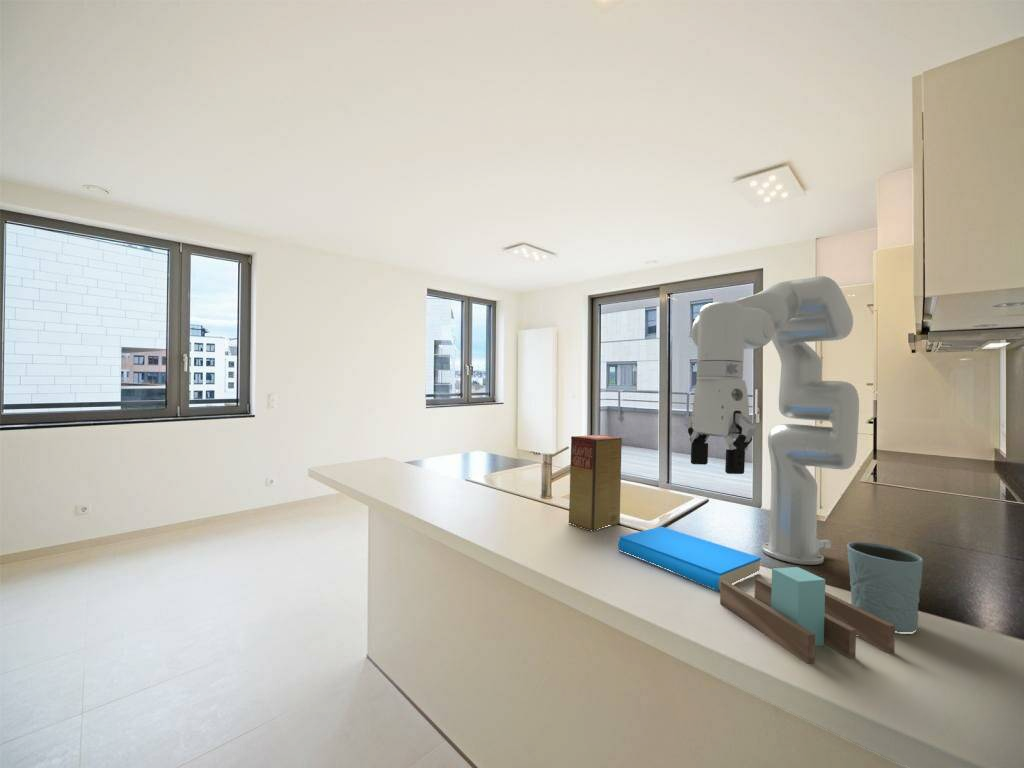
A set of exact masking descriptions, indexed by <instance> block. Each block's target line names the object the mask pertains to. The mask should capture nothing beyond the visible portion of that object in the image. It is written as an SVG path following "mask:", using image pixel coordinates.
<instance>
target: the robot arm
mask: <svg viewBox="0 0 1024 768" xmlns="http://www.w3.org/2000/svg"><path fill="white" fill-rule="evenodd" d="M853 316H854V315H853V313H852V310H851V308H850V305H849V303H848V301H847V299H846V297H845V294H844V293H843V291H842V289H841V287H840V286H839V285H838V283H836V281H835V280H833V279H832V278H830V277H827V276H823V275H821V276H815V277H809V278H800V279H793V280H784V281H781V282H777V283H775V284H772V285H769V287H767V288H764V289H763V290H761V291H760V292H758V293H755V294H751V295H747V296H745V297H741V298H739V299H735V300H732V301H718V302H717V301H716V302H711V303H710V302H709V303H706V304H705V305H703V306H702V307H701V308H700V310H699V313H698V315H697V317H696V318H695V320H694V321H693V323H692V326H691V338H692V341H693V343H694V345H696V346H697V357H696V358H697V359H696V361H697V363H696V381H695V382H696V383H695V387H694V393H693V402H692V413H691V414H690V415H689V416H688V417H687V418H686V420H685V422H686V425H687V432H688V435H689V441H690V444H691V445H690V446H691V447H690V464H692V465H704V466H705V465H708V460H709V443H707V441H708V439H709V437H710V436H713V437H717V438H724V440H725V443H726V445H727V446H728V449H725V466H724V468H725V470H724V471H725V473H726V474H729V475H743V474H744V473H745V467H746V466H745V462H746V459H745V458H746V457H745V456H746V451H748V449H749V445H750V444H751V443H752V441H753V436H754V434H755V432H756V430H757V425H756V424H755V423H754V422H753V421H751V420H750V406H749V405H750V404H749V393H748V388H747V387H748V386H747V384H746V380H744V353H745V352H744V350H750V349H751V350H752V349H759V348H763V347H765V346H767V345H768V344H769V343H770V342H771V341H772V344H773V345H774V347H775V349H776V352H777V354H778V356H779V358H780V359H779V360H780V366H781V367H780V379H779V380H780V381H779V391H778V392H779V393H778V410H779V413H780V414H781V415H782V416H783V417H786V418H789V419H794V420H805V421H806V420H807V421H816V422H817V421H819V422H829V423H831V424H832V425H831V426H821V425H811V424H796V423H795V424H794V423H785V424H783V423H782V424H779V425H776V426H774V427H772V429H771V430H770V431H769V432H768V435H767V436H768V437H767V447H768V453H769V460H770V475H771V476H770V477H771V479H770V505H769V506H770V510H769V511H770V514H769V541H767V542H765V543H762V545H761V550H762V552H763V553H764V554H766V555H768V557H769V556H770V557H772V558H774V559H777V560H779V561H784V562H787V563H792V564H798V565H804V566H817V565H821V564H823V563H824V560H825V559H824V555H823V554H822V553H820V550H821V549H830V548H832V543H831V541H830V540H828V539H819V538H817V525H818V524H817V523H818V521H817V517H818V491H819V489H818V484H817V482H816V479H815V477H814V476H813V474H812V473H811V472H810V470H809V469H808V467H815V468H824V469H832V470H839V471H840V470H841V471H843V470H849V469H850V468H852V467H853V465H854V464H855V462H856V458H857V450H858V435H859V418H860V416H859V415H860V398H859V393H858V390H857V388H856V387H855V385H853V384H852V383H850V382H848V381H842V380H822V375H823V374H822V373H823V361H822V359H821V357H820V356H819V354H818V353H817V352H816V351H815V350H814V349H813V348H812V347H811V346H810V345H809V344H808V343H809V342H829V341H830V342H832V341H833V342H834V341H839V340H840V341H841V340H843V339H845V338H847V337H848V336H849V335H850V333H852V329H853V326H854V317H853ZM807 342H808V343H807Z"/></svg>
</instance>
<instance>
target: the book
mask: <svg viewBox="0 0 1024 768" xmlns="http://www.w3.org/2000/svg"><path fill="white" fill-rule="evenodd" d="M617 546H618V547H617V549H618V551H619V550H621V551H623V552H626V553H629V554H631V555H634V556H636V557H639V558H641V559H644V560H646V561H648V562H651V563H654V564H656V565H659V566H661V567H663V568H666V569H669V570H671V571H673V572H675V573H678V574H680V575H682V576H685V577H687V578H689V579H692V580H694V581H696V582H695V583H697V582H699V583H701V584H700V585H702V584H704V585H706V586H705V587H707V586H709V587H711V588H710V589H712V588H714V589H716V590H715V591H717V590H721V581H727V582H729V583H731V584H732V583H734V582H736V581H738V580H740V579H742V578H745V577H747V576H749V575H751V574H753V573H755V572H757V571H759V570H760V566H761V561H762V558H761V557H760V556H757V555H754V554H751V553H747V552H744V551H740V550H738V549H735V548H731V547H729V546H726V545H722V544H719V543H715V542H712V541H709V540H706V539H704V538H703V539H702V538H700V537H696V536H693V535H690V534H687V533H683V532H680V531H677V530H674V529H671V528H667V527H664V526H659V527H658V526H657V527H654V528H651V529H646V530H643V531H638V532H635V533H629V534H625V535H620V536H619V540H618V544H617ZM682 576H681V577H682ZM687 578H686V579H687ZM689 579H688V580H689ZM692 580H691V581H692ZM694 581H693V582H694ZM699 583H698V584H699ZM704 585H703V586H704ZM709 587H708V588H709ZM714 589H713V590H714Z"/></svg>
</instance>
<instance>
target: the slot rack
mask: <svg viewBox="0 0 1024 768" xmlns="http://www.w3.org/2000/svg"><path fill="white" fill-rule="evenodd" d="M771 589H772V583H770V582H768V581H766V580H764V579H763V578H754V596H752V595H751V594H749V593H748V592H746V591H744V590H742V589H741V588H739V587H737V586H735V585H732V584H731V583H729V582H727V581H721V590H720V591H719V592H720V594H719V595H720V597H719V604H720V605H722V606H723V608H726V609H727V610H729V611H730V612H731V613H734V615H736V616H738V617H739V618H741V619H742V620H744V622H746V623H748V625H751V626H752V627H754V628H755V629H757V630H758V631H760V632H761V633H763V634H764V635H765V636H766V637H768V638H770V639H771V640H772V641H774V642H776V643H777V644H778V645H780V646H781V647H783V648H784V649H786V650H787V651H789V652H790V653H791V654H793V655H794V656H796V657H798V658H799V659H800V660H801V661H803V662H804V663H806V664H814V663H815V661H816V659H815V655H816V654H815V653H816V652H815V651H816V646H815V634H814V633H812V632H810V631H809V630H807V629H805V628H804V627H802V626H800V625H799V624H797V623H795V622H794V621H792V620H791V619H789V618H787V617H786V616H784V615H782V614H781V613H779V612H777V611H776V610H774V609H772V608H771ZM856 635H858V636H859V637H858V636H856ZM895 635H896V634H895V625H893V624H891V623H889V622H887V621H885V620H882V619H880V618H878V617H876V616H874V615H872V614H870V613H868V612H866V611H864V610H862V609H860V608H858V607H856V606H854V605H852V604H851V603H850V602H847V601H845V600H843V599H842V598H839V597H837V596H835V595H833V594H832V593H828V592H827V591H825V613H824V645H826V646H828V647H830V648H831V649H833V650H835V651H837V653H839V654H841V655H843V656H845V657H846V658H848V659H854V658H856V652H857V651H856V649H857V647H856V645H857V637H858V638H860V637H861V638H862V639H861V638H860V639H861V640H863V639H864V641H865V642H867V641H868V642H867V643H869V644H871V645H872V646H874V647H876V648H878V649H880V650H881V649H882V650H881V651H882V652H883V651H884V652H885V653H887V654H893V653H892V652H894V653H895V641H896V640H895V638H896V636H895Z"/></svg>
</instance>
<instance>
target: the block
mask: <svg viewBox="0 0 1024 768" xmlns="http://www.w3.org/2000/svg"><path fill="white" fill-rule="evenodd" d="M771 584H772V589H771V608H772V609H774V610H776V611H777V612H779V613H781V614H782V615H784V616H786V617H787V618H789V619H791V620H792V621H794V622H795V623H797V624H799V625H800V626H802V627H804V628H805V629H807V630H809V631H810V632H812V633H814V634H815V647H821V646H825V643H824V613H825V592H826V579H825V578H823V577H821V576H818V575H816V574H814V573H812V572H810V571H807V570H805V569H803V568H801V567H799V566H793V567H792V566H790V567H776V568H775V567H774V568H771Z"/></svg>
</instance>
